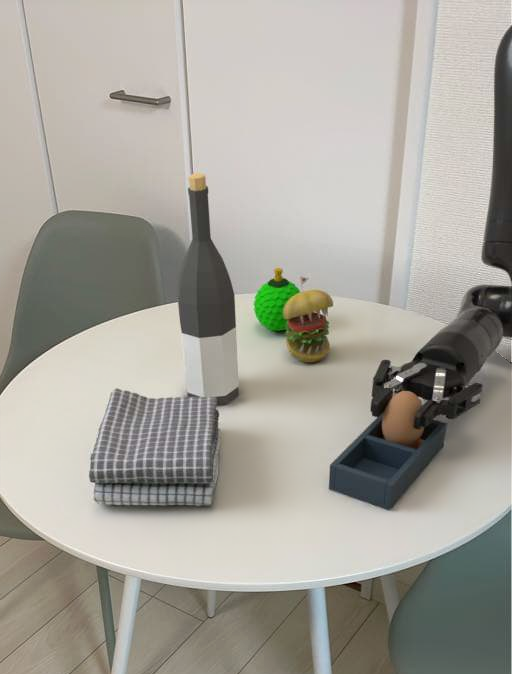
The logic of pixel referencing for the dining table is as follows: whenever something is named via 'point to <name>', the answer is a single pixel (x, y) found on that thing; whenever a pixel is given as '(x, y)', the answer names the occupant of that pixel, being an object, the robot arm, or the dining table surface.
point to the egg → (402, 419)
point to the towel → (156, 451)
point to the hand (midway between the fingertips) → (395, 416)
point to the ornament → (274, 301)
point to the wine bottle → (206, 309)
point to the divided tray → (383, 464)
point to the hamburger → (307, 324)
